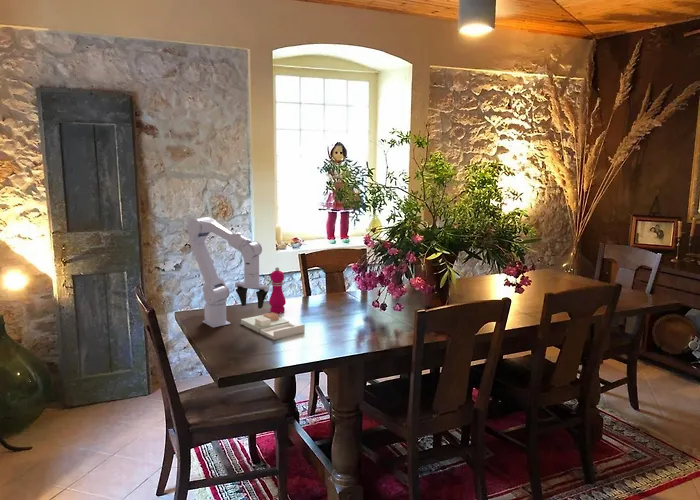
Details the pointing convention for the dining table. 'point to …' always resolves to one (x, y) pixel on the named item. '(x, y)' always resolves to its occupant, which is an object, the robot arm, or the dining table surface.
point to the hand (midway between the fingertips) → (252, 306)
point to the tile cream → (262, 321)
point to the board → (251, 324)
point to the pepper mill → (277, 292)
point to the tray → (283, 331)
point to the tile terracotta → (271, 316)
